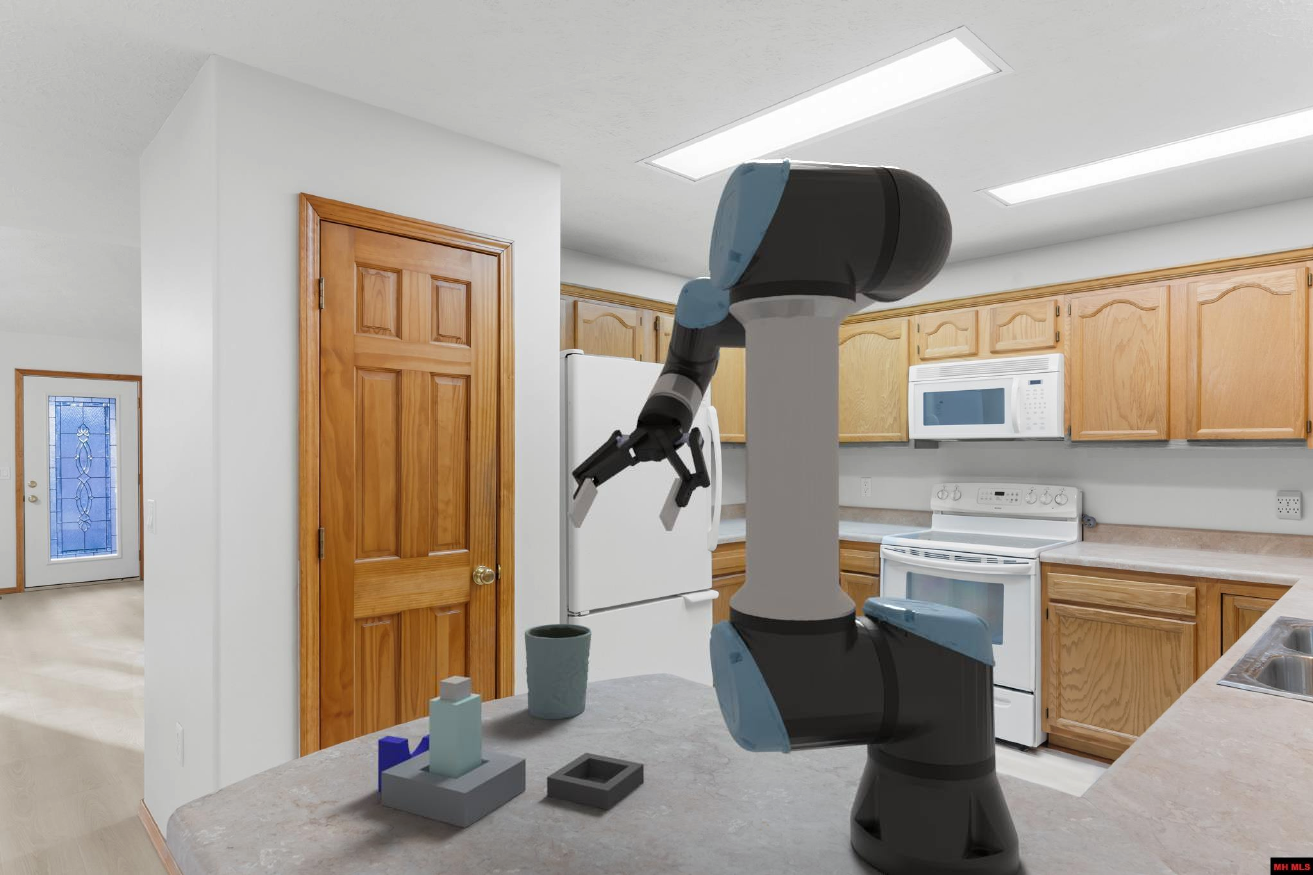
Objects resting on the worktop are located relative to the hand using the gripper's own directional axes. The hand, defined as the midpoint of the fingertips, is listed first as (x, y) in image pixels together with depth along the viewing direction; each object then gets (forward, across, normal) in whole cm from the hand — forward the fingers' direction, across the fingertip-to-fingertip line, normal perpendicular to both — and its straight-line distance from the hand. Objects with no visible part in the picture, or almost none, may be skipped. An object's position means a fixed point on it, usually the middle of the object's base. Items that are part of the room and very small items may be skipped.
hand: (617, 522), depth 95 cm
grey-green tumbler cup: (+12, +18, -30) cm, 37 cm away
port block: (+34, +11, -8) cm, 36 cm away
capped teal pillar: (+33, +11, -9) cm, 36 cm away
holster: (+27, -2, -15) cm, 31 cm away
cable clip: (+31, +20, -11) cm, 39 cm away
